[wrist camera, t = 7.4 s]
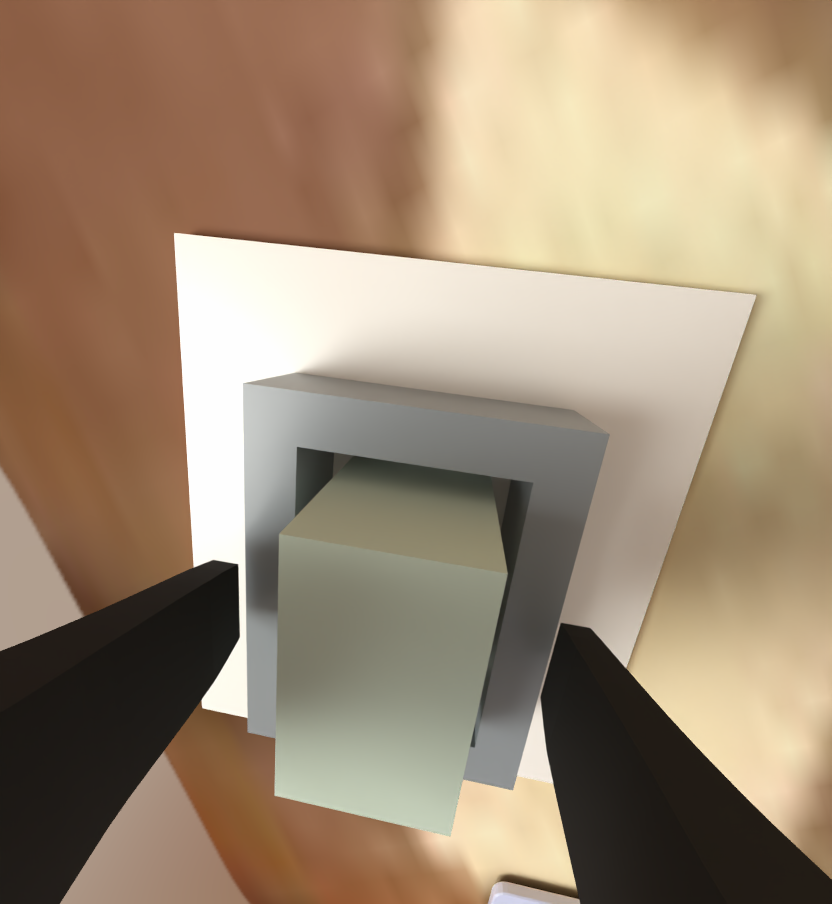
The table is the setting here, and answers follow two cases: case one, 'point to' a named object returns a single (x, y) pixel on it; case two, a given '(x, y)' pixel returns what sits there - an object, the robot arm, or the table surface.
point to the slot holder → (449, 437)
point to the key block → (386, 640)
